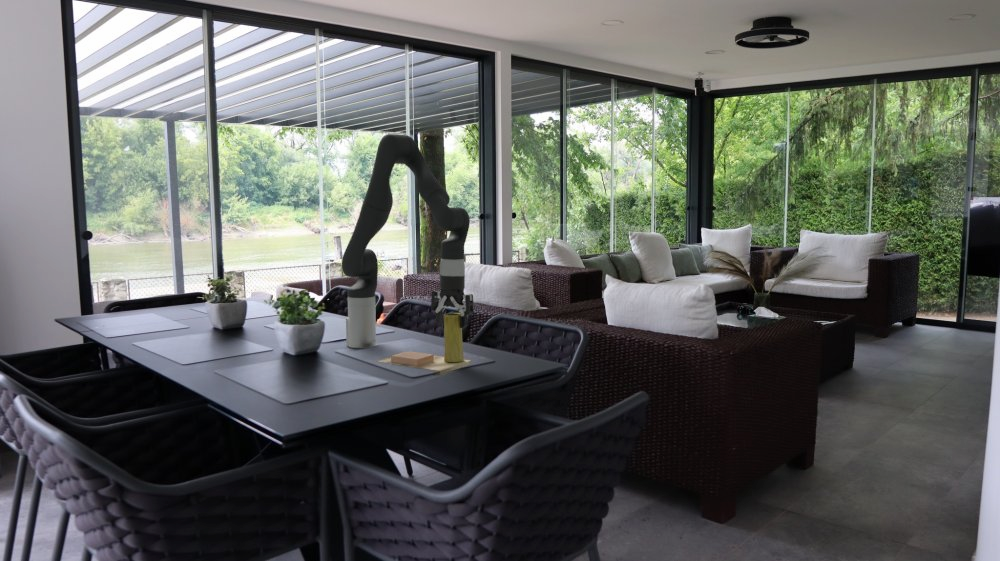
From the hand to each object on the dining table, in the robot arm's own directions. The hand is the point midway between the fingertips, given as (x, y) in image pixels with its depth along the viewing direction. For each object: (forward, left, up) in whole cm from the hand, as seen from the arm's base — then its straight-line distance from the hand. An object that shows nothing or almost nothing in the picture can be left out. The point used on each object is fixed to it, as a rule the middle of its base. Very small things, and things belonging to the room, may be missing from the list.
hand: (451, 326), depth 222 cm
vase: (+2, -1, -10) cm, 11 cm away
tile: (-13, -9, -9) cm, 18 cm away
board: (-6, -6, -12) cm, 14 cm away
